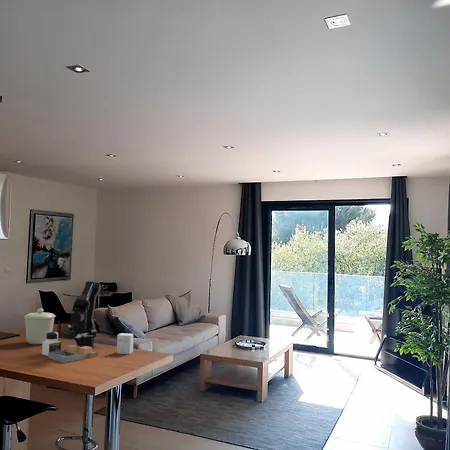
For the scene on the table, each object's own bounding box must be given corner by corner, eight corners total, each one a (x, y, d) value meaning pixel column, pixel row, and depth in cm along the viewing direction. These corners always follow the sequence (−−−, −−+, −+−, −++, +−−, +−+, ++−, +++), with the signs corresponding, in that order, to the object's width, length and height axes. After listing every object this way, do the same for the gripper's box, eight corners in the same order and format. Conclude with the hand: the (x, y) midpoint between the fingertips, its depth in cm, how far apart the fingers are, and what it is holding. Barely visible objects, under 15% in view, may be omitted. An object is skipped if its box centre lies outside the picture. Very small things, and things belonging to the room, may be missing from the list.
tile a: (74, 350, 243) (74, 344, 243) (79, 351, 240) (80, 346, 240) (66, 351, 239) (66, 346, 239) (71, 353, 236) (72, 347, 236)
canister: (23, 340, 274) (25, 306, 275) (54, 339, 280) (56, 306, 281) (21, 346, 257) (23, 310, 258) (54, 345, 263) (56, 310, 265)
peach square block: (86, 351, 241) (86, 346, 241) (91, 352, 238) (92, 347, 238) (78, 353, 237) (78, 347, 237) (84, 354, 234) (84, 348, 234)
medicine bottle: (48, 356, 235) (50, 334, 236) (41, 354, 239) (42, 332, 240) (60, 354, 241) (61, 332, 242) (53, 352, 245) (54, 330, 246)
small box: (133, 352, 252) (133, 333, 252) (130, 354, 246) (130, 335, 247) (119, 351, 253) (120, 333, 253) (116, 353, 247) (117, 334, 248)
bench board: (82, 351, 248) (82, 348, 248) (97, 355, 240) (98, 352, 240) (65, 355, 239) (65, 351, 239) (81, 359, 231) (81, 355, 231)
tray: (64, 355, 239) (64, 349, 240) (81, 359, 231) (81, 353, 231) (48, 358, 231) (48, 352, 232) (65, 363, 223) (65, 357, 223)
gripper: (85, 317, 256) (84, 344, 255) (57, 321, 241) (56, 349, 240) (97, 319, 250) (96, 347, 249) (69, 323, 234) (68, 352, 233)
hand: (79, 349), depth 243 cm, fingers closed
